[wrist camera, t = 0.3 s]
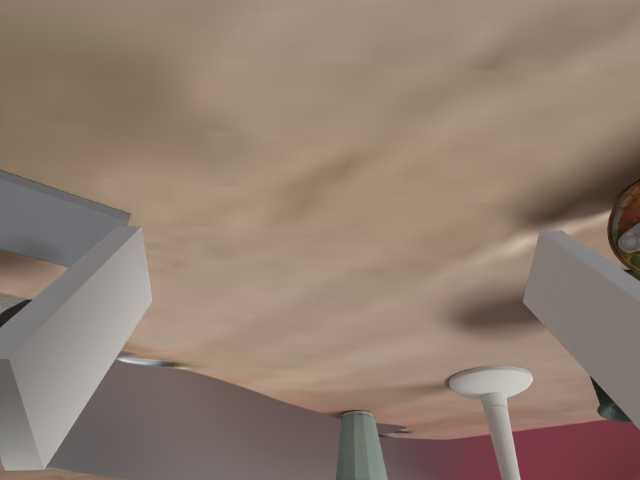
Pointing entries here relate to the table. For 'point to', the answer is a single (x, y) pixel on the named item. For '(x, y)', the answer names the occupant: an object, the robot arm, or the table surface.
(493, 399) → the candlestick
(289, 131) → the table surface
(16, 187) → the grey stepped block
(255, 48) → the table surface
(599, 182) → the table surface
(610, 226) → the tin
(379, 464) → the disposable coffee cup
